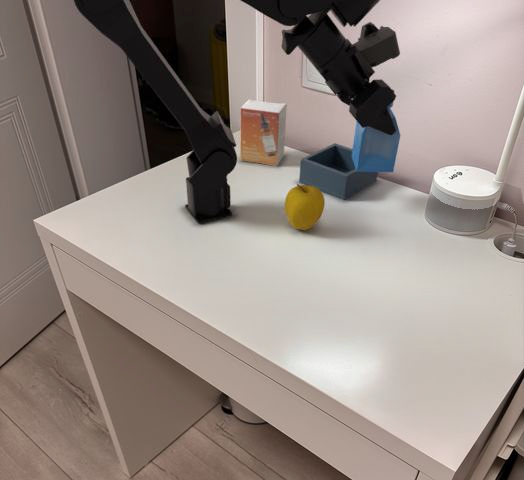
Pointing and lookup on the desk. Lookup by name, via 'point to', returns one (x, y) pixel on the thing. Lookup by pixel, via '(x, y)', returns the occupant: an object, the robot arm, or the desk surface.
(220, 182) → the robot arm
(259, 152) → the small box
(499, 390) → the desk surface
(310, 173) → the bin
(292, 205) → the apple
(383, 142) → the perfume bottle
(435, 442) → the desk surface
